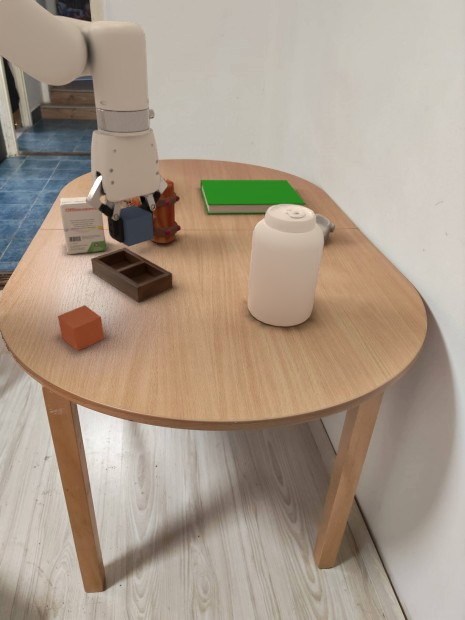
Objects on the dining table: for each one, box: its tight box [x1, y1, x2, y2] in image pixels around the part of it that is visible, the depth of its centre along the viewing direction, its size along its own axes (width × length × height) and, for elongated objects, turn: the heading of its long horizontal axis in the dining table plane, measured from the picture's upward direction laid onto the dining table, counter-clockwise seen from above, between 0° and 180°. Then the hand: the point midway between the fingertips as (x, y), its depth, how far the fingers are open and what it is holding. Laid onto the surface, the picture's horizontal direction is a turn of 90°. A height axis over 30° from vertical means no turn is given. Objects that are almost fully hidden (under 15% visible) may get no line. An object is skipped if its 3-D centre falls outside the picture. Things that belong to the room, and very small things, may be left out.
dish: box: [315, 213, 336, 243], centre depth 115 cm, size 14×14×5 cm
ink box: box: [59, 196, 107, 255], centre depth 102 cm, size 8×5×12 cm, turn 109°
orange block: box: [57, 304, 105, 352], centre depth 76 cm, size 5×5×4 cm
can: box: [246, 204, 325, 327], centre depth 82 cm, size 12×12×20 cm
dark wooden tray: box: [90, 247, 173, 303], centre depth 93 cm, size 8×16×3 cm, turn 46°
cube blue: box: [119, 205, 153, 247], centre depth 75 cm, size 5×5×4 cm
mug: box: [130, 178, 182, 244], centre depth 106 cm, size 15×8×15 cm, turn 152°
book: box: [200, 179, 306, 215], centre depth 138 cm, size 22×28×3 cm
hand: (132, 234), depth 76 cm, fingers closed on cube blue, 5 cm apart
